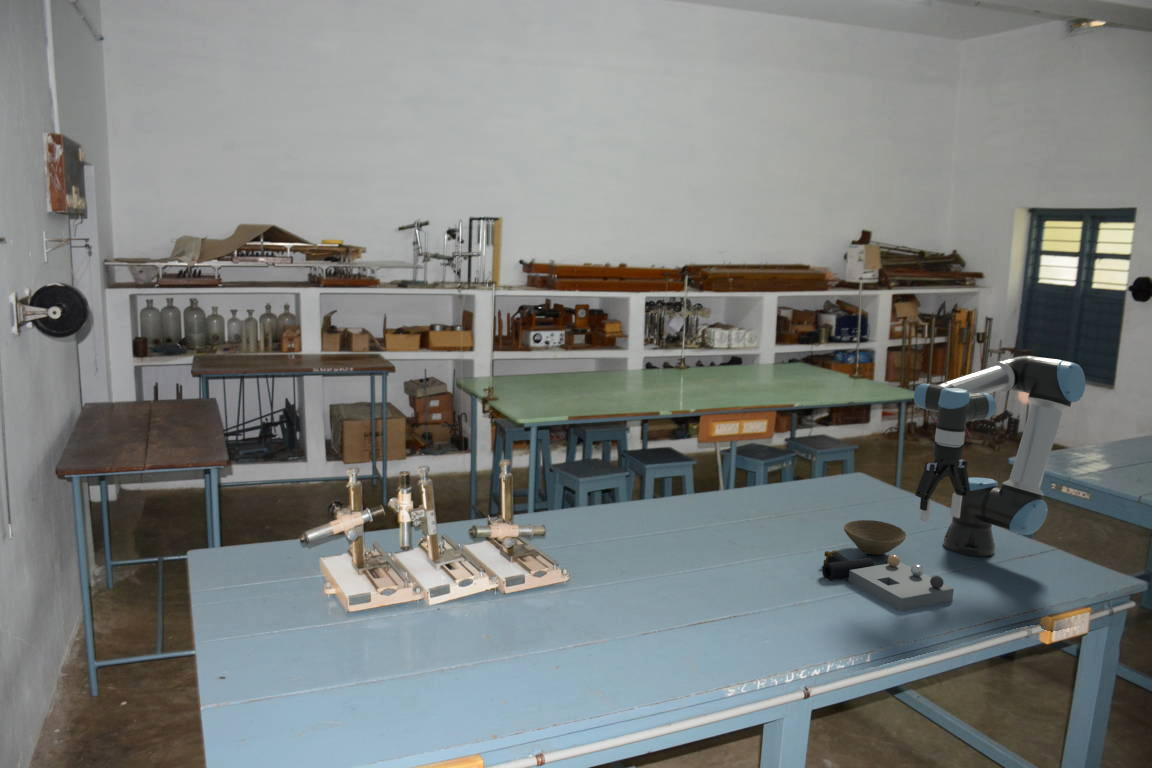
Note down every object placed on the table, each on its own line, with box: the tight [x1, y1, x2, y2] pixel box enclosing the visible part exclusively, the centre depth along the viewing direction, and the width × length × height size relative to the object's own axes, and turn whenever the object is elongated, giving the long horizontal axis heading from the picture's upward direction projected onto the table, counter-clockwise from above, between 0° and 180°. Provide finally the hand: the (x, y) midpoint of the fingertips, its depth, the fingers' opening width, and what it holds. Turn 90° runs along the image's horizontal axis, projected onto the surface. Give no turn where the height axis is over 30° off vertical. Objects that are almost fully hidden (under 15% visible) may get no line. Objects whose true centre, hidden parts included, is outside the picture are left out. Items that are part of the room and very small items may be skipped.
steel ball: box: [911, 564, 925, 577], centre depth 243 cm, size 3×3×3 cm
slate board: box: [847, 561, 955, 612], centre depth 241 cm, size 19×20×4 cm
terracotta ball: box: [887, 554, 901, 567], centre depth 250 cm, size 3×3×3 cm
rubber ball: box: [930, 575, 945, 589], centre depth 236 cm, size 3×3×3 cm
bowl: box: [843, 519, 907, 556], centre depth 269 cm, size 18×18×8 cm
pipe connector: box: [821, 550, 876, 582], centre depth 253 cm, size 12×5×15 cm
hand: (939, 518), depth 243 cm, fingers open, 11 cm apart
